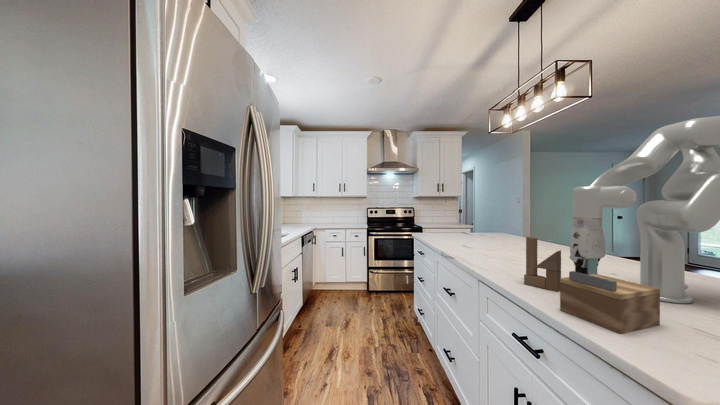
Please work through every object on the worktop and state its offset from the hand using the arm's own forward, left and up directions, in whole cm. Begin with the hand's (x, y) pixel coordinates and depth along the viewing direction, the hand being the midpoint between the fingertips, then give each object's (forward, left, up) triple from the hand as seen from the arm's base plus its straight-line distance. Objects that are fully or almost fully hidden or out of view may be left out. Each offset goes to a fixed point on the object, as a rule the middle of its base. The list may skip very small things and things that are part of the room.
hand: (586, 277), depth 87 cm
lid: (+13, +13, +2) cm, 18 cm away
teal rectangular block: (0, 0, -3) cm, 3 cm away
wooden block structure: (+6, -11, -6) cm, 14 cm away
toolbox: (+13, +13, -6) cm, 19 cm away
